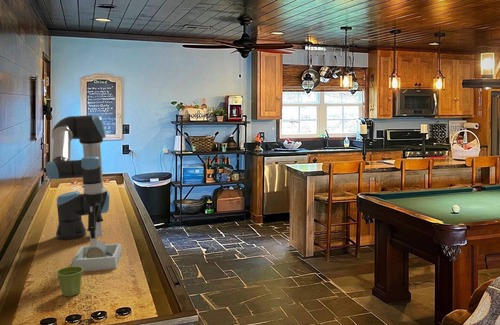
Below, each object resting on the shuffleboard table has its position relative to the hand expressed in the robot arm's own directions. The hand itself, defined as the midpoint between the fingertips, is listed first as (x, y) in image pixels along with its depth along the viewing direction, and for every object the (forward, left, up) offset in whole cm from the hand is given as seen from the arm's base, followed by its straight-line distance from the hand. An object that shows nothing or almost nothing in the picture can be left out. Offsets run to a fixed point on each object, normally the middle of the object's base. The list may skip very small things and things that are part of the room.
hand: (96, 240), depth 202 cm
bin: (0, 0, -10) cm, 10 cm away
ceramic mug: (0, +1, -9) cm, 9 cm away
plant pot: (+34, -4, -10) cm, 36 cm away
